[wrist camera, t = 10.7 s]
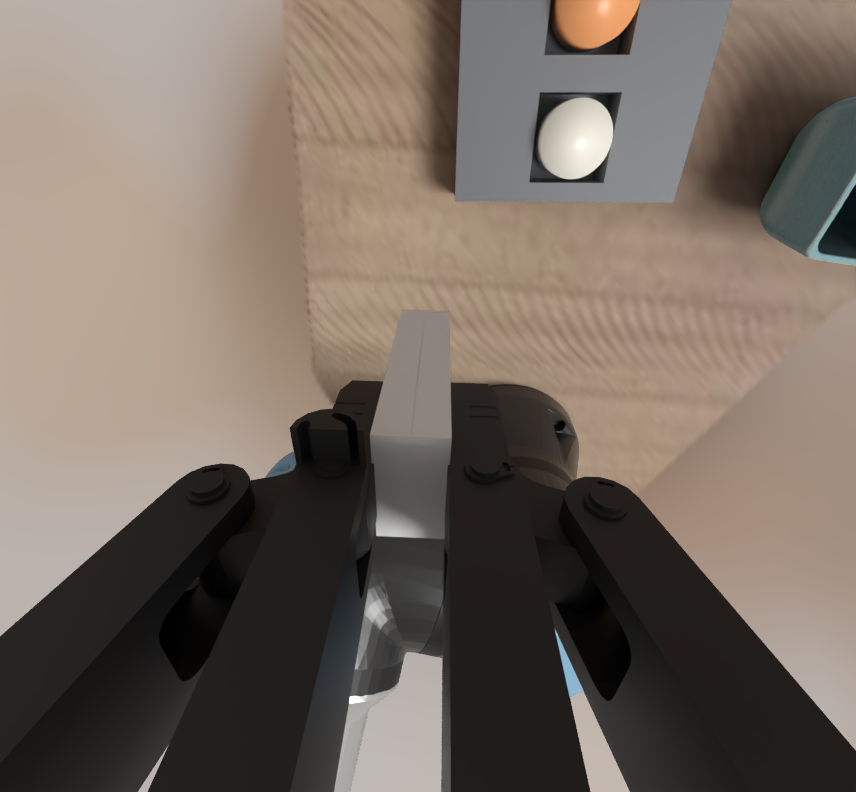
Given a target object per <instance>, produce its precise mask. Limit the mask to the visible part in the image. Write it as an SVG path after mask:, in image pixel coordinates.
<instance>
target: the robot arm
mask: <svg viewBox="0 0 856 792" xmlns="http://www.w3.org/2000/svg"><path fill="white" fill-rule="evenodd" d="M290 432H291V438H292V443H293V448H294V452H292V453H290V454H288V455H286V456H285V457H283V458H282V459H281V460H280V461H279V462H278V463H277V464H276V465H275V466H274V467H273V468H272V469H271V471H270V472H269V473H268V475H267V476H266V477H265V478H262V479H257V480H251V481H250V478H249V476H248V474H247V473H246V471H245V470H244V469H243V468H240V467H238V466H236V465H233V464H215V465H210V466H205V467H202V468H200V469H197V470H195V471H192V472H190V473H188V474H187V475H186V476H184V477H183V478H181V479H180V480H178V481H177V482H176V483H174V484H173V485H172V486H171V487H170V488H169V489H168V490H166V491H165V492H164V493H163V494H162V495H161V496H160V497H159V498H157V499H156V500H155V501H154V502H153V503H152V504H151V505H149V506H148V507H147V508H146V509H145V510H144V511H143V512H142V513H140V514H139V515H138V516H137V517H136V518H135V519H133V520H132V521H131V522H130V523H129V524H128V525H127V526H125V528H123V529H122V530H121V531H120V532H119V533H117V534H116V535H115V536H114V537H113V538H112V539H111V540H110V541H108V542H107V543H106V544H105V545H104V546H103V547H102V548H100V549H99V550H98V551H97V552H96V553H95V554H94V555H92V556H91V557H90V558H89V559H88V560H87V561H86V562H84V563H83V564H82V565H81V566H80V567H79V568H78V569H76V570H75V571H74V572H73V573H72V574H71V575H70V576H69V577H67V578H66V579H65V580H64V581H63V582H62V583H61V584H59V586H57V587H56V588H55V589H54V590H53V591H51V592H50V593H49V594H48V595H47V596H46V597H45V598H43V599H42V600H41V601H40V602H39V603H38V604H37V605H35V606H34V607H33V608H32V609H31V610H30V611H29V612H28V613H26V614H25V615H24V616H23V617H22V618H21V619H20V620H19V621H17V622H16V623H15V624H14V625H13V626H12V627H11V628H9V629H8V630H7V631H6V632H5V633H4V634H2V635H1V636H0V792H138V790H139V789H140V787H141V786H142V784H143V782H144V781H145V780H146V778H147V777H148V775H149V774H150V772H151V771H152V769H153V768H154V766H155V765H156V763H157V761H158V760H159V758H160V757H161V755H162V754H163V752H164V751H165V749H166V748H167V746H168V745H169V746H168V748H167V750H166V752H165V755H164V757H163V759H162V761H161V763H160V766H159V768H158V770H157V773H156V775H155V777H154V779H153V781H152V783H151V786H150V788H149V790H148V792H350V790H351V786H352V781H353V777H354V772H355V768H356V763H357V759H358V755H359V750H360V746H361V741H362V737H363V732H364V728H365V724H366V719H367V715H368V711H369V710H370V708H371V707H373V706H374V705H375V704H377V703H378V702H380V701H381V700H383V699H384V698H385V697H387V696H388V695H389V694H391V693H392V692H393V691H394V690H395V689H396V687H397V685H398V682H399V678H400V673H401V669H402V664H403V659H404V656H405V654H406V652H416V653H420V654H425V655H430V656H435V657H441V658H443V671H442V674H443V675H442V677H443V678H442V680H443V682H442V780H441V781H442V783H441V792H590V788H589V784H588V779H587V774H586V770H585V765H584V761H583V756H582V752H581V747H580V743H579V738H578V733H577V729H576V724H575V720H574V715H573V710H572V706H571V701H570V697H571V696H574V695H576V694H578V693H581V692H583V691H584V692H585V695H586V697H587V699H588V701H589V704H590V706H591V708H592V710H593V712H594V714H595V716H596V719H597V721H598V723H599V725H600V727H601V729H602V732H603V734H604V736H605V738H606V741H607V743H608V745H609V747H610V749H611V751H612V754H613V756H614V758H615V760H616V762H617V764H618V766H619V769H620V771H621V773H622V775H623V777H624V780H625V782H626V784H627V786H628V788H629V790H630V792H856V750H855V749H854V748H853V747H852V746H851V745H850V744H849V742H848V741H847V740H846V739H845V738H844V736H843V735H842V734H841V733H840V732H839V731H838V729H837V728H836V727H835V726H834V725H833V724H832V723H831V721H830V720H829V719H828V718H827V717H826V715H825V714H824V713H823V712H822V711H821V710H820V708H819V707H818V706H817V705H816V704H815V703H814V701H813V700H812V699H811V698H810V697H809V696H808V694H807V693H806V692H805V691H804V690H803V689H802V687H801V686H800V685H799V684H798V683H797V682H796V680H795V679H794V678H793V677H792V676H791V675H790V673H789V672H788V671H787V670H786V669H785V668H784V667H783V665H782V664H781V663H780V662H779V661H778V659H777V658H775V656H774V655H773V654H772V652H771V651H770V650H769V649H768V648H767V647H766V645H765V644H764V643H763V642H762V641H761V640H760V638H759V637H758V636H757V635H756V634H755V633H754V631H753V630H752V629H751V628H750V627H749V626H748V624H747V623H746V622H745V621H744V620H743V619H742V617H741V616H740V615H739V614H738V613H737V612H736V610H735V609H734V608H733V607H732V606H731V605H730V603H729V602H728V601H727V600H726V599H725V598H724V596H723V595H722V594H721V593H720V592H719V591H718V589H717V588H716V587H715V586H714V585H713V584H712V582H711V581H710V580H709V579H708V578H707V577H706V575H705V574H704V573H703V572H702V571H701V570H700V569H699V567H698V566H697V565H696V564H695V563H694V561H693V560H692V559H691V558H690V557H689V556H688V555H687V553H686V552H685V551H684V550H683V549H682V547H681V546H680V545H679V544H678V543H677V542H676V540H675V539H674V538H673V537H672V536H671V535H670V533H669V532H668V531H667V530H666V529H665V528H664V526H663V525H662V524H661V523H660V522H659V521H658V519H657V518H656V517H655V516H654V515H653V514H652V512H651V511H650V510H649V509H648V508H647V507H646V505H645V504H644V503H643V502H642V501H641V500H640V499H639V497H637V496H636V495H635V494H634V493H633V492H632V491H631V490H629V489H628V488H627V487H625V486H623V485H621V484H619V483H617V482H615V481H612V480H608V479H605V478H601V477H583V478H579V479H576V477H577V467H578V457H579V444H578V438H577V435H576V432H575V429H574V427H573V424H572V422H571V420H570V417H569V416H568V414H567V412H566V411H565V410H564V408H563V407H562V406H561V405H560V404H559V403H558V402H556V401H555V400H554V399H553V398H551V397H549V396H548V395H546V394H544V393H542V392H540V391H537V390H534V389H531V388H527V387H522V386H513V385H502V386H493V387H490V386H489V385H488V384H476V383H451V375H450V322H449V311H426V310H402V311H401V315H400V319H399V323H398V327H397V330H396V334H395V338H394V342H393V346H392V350H391V354H390V358H389V362H388V366H387V370H386V374H385V377H384V381H383V382H381V381H354V380H352V381H351V382H350V383H349V384H348V385H346V386H345V387H344V388H343V389H341V390H340V392H339V395H338V397H337V400H336V404H334V407H333V409H325V410H318V411H315V412H311V413H308V414H306V415H304V416H303V417H301V418H300V419H297V420H296V421H295V422H294V424H293V425H292V426H291V427H290ZM169 743H170V744H169Z"/></svg>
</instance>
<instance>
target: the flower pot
mask: <svg viewBox="0 0 856 792" xmlns="http://www.w3.org/2000/svg"><path fill="white" fill-rule="evenodd" d="M760 219H761V223H762V225H763V227H764V229H765V230H766V231H767V232H768V233H769V234H770V235H771V236H772V237H774V238H776V239H777V240H779V241H780V242H782V243H784V244H785V245H787V246H789V247H790V248H792V249H794V250H796V251H798V252H799V253H801V254H803V255H804V256H806V257H808V258H809V259H814V260H819V261H827V262H834V263H840V264H847V265H854V266H856V96H853V97H849V98H846V99H843V100H841V101H838V102H836V103H834V104H832V105H830V106H829V107H827V108H825V109H824V110H822V111H821V112H820V113H818V114H817V115H816V116H815V117H814V118H813V119H811V120H810V121H809V122H808V123H807V124H806V126H805V127H804V128H803V129H802V130H801V131H800V132H799V134H798V135H797V136H796V138H795V140H794V142H793V144H792V146H791V148H790V150H789V152H788V154H787V156H786V157H785V159H784V161H783V163H782V165H781V167H780V169H779V171H778V173H777V174H776V176H775V178H774V180H773V182H772V184H771V186H770V187H769V189H768V191H767V193H766V195H765V197H764V199H763V201H762V203H761V209H760Z"/></svg>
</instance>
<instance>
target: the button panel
mask: <svg viewBox="0 0 856 792" xmlns="http://www.w3.org/2000/svg"><path fill="white" fill-rule="evenodd" d="M731 3H732V0H640V3H639V6H638V8H637V11H636V13H635V15H634V16H633V18H632V20H631V21H630V23H629V24H628V26H627V27H626V28H625V29H624V30H623V31H622V32H621V33H620V34H619V35H618V36H617V37H615V38H614V39H612V40H611V41H609V42H607V43H605V44H603V45H601V46H599V47H597V48H596V49H593V50H591V51H587V52H574V51H570V50H568V49H566V48H565V47H564V46H562V45H561V44H560V43H559V41H558V40H557V38H556V37H555V35H554V32H553V30H552V26H551V21H550V4H551V0H461V12H460V43H459V73H458V104H457V134H456V164H455V201H495V202H608V203H673V202H674V198H675V195H676V192H677V188H678V185H679V181H680V178H681V174H682V171H683V168H684V164H685V161H686V157H687V154H688V150H689V147H690V144H691V140H692V137H693V133H694V130H695V126H696V123H697V119H698V116H699V113H700V109H701V106H702V102H703V99H704V95H705V92H706V89H707V85H708V82H709V78H710V75H711V71H712V68H713V65H714V61H715V58H716V54H717V51H718V47H719V44H720V40H721V37H722V34H723V30H724V27H725V23H726V20H727V16H728V13H729V10H730V6H731ZM583 97H584V98H591V99H594V100H597V101H598V102H600V103H601V104H602V105H603V106H604V107H605V108H606V109H607V110H608V112H609V114H610V116H611V119H612V124H613V138H612V143H611V147H610V149H609V152H608V154H607V156H606V157H605V159H604V160H603V162H602V163H601V164H600V165H599V166H598V167H597V168H596V169H595V170H594V171H593V172H591V173H590V174H588V175H586V176H584V177H581V178H578V179H564V178H560V177H558V176H556V175H554V174H552V173H550V172H548V171H546V170H545V169H544V168H543V167H542V166H541V165H540V163H539V162H538V159H537V157H536V154H535V149H534V139H535V133H536V130H537V127H538V125H539V123H540V121H541V119H542V118H543V116H544V115H545V114H546V113H547V112H548V111H549V110H550V109H551V108H552V107H553V106H555V105H556V104H558V103H560V102H563V101H566V100H571V99H576V98H583Z"/></svg>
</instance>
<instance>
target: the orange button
mask: <svg viewBox="0 0 856 792" xmlns="http://www.w3.org/2000/svg"><path fill="white" fill-rule="evenodd" d="M639 3H640V0H551V4H550V21H551V26H552V30H553V32H554V35H555V37H556V38H557V40H558V41H559V43H560V44H561V45H562V46H564V47H565V48H566V49H568V50H570V51H574V52H587V51H591V50H593V49H596V48H597V47H599V46H601V45H603V44H605V43H607V42H609V41H611V40H612V39H614V38H615V37H617V36H618V35H619V34H620V33H621V32H622V31H623V30H624V29H625V28H626V27H627V26H628V24H629V23H630V21H631V20H632V18H633V16H634V15H635V13H636V11H637V8H638V6H639Z"/></svg>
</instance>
